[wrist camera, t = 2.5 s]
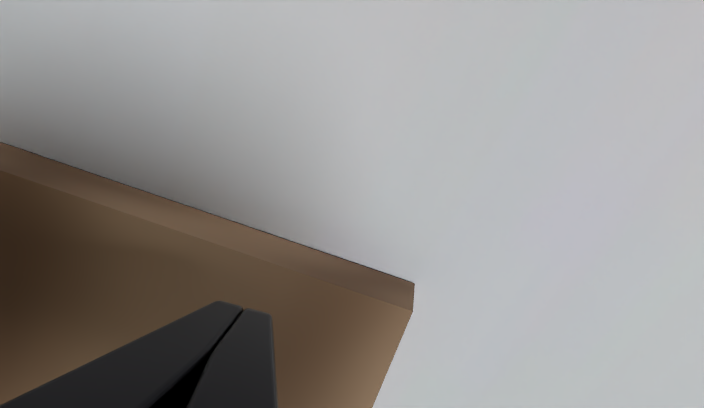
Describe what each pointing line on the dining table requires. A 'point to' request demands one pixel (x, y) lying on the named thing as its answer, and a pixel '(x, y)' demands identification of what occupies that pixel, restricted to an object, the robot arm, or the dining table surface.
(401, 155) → the dining table surface
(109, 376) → the robot arm
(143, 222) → the base
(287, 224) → the dining table surface
